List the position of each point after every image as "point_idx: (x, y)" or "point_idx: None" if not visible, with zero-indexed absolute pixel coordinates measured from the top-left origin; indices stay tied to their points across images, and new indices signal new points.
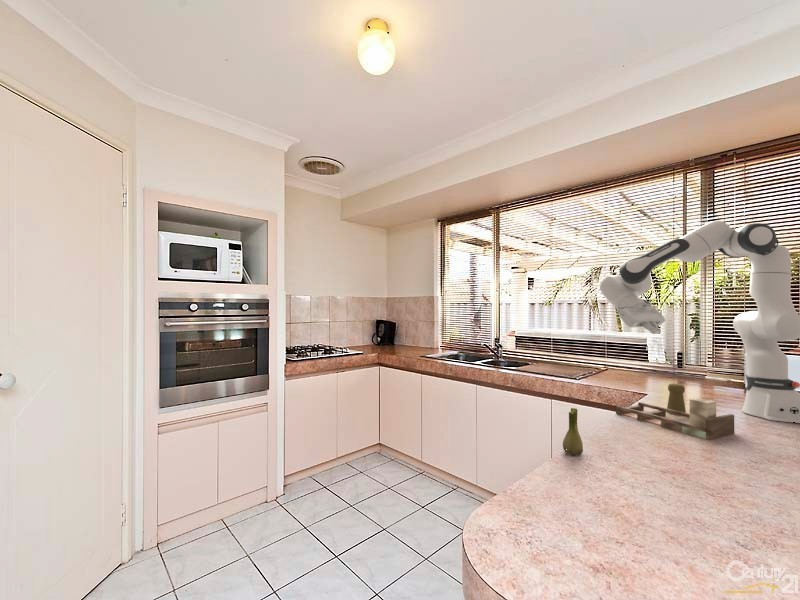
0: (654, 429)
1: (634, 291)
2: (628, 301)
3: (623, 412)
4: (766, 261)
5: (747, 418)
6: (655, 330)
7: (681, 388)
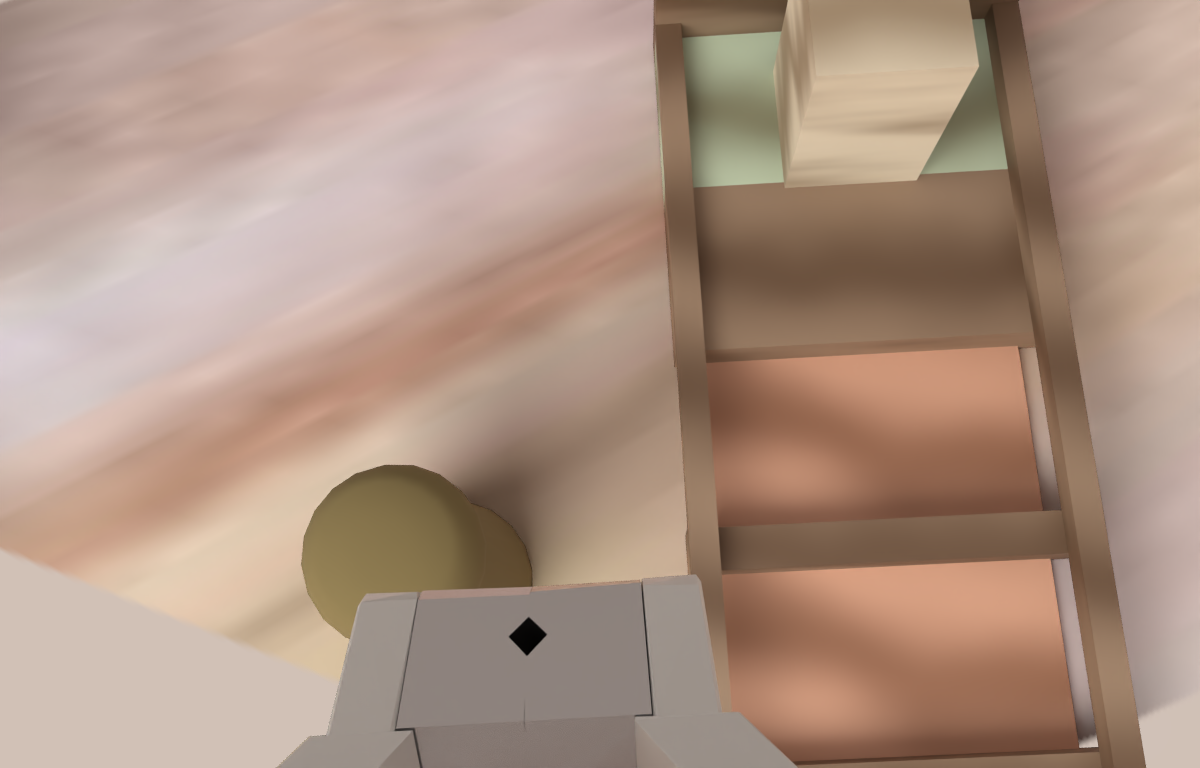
0: (1174, 313)
1: None
2: None
3: (1049, 751)
4: None
5: (35, 241)
6: (703, 604)
7: (422, 470)
